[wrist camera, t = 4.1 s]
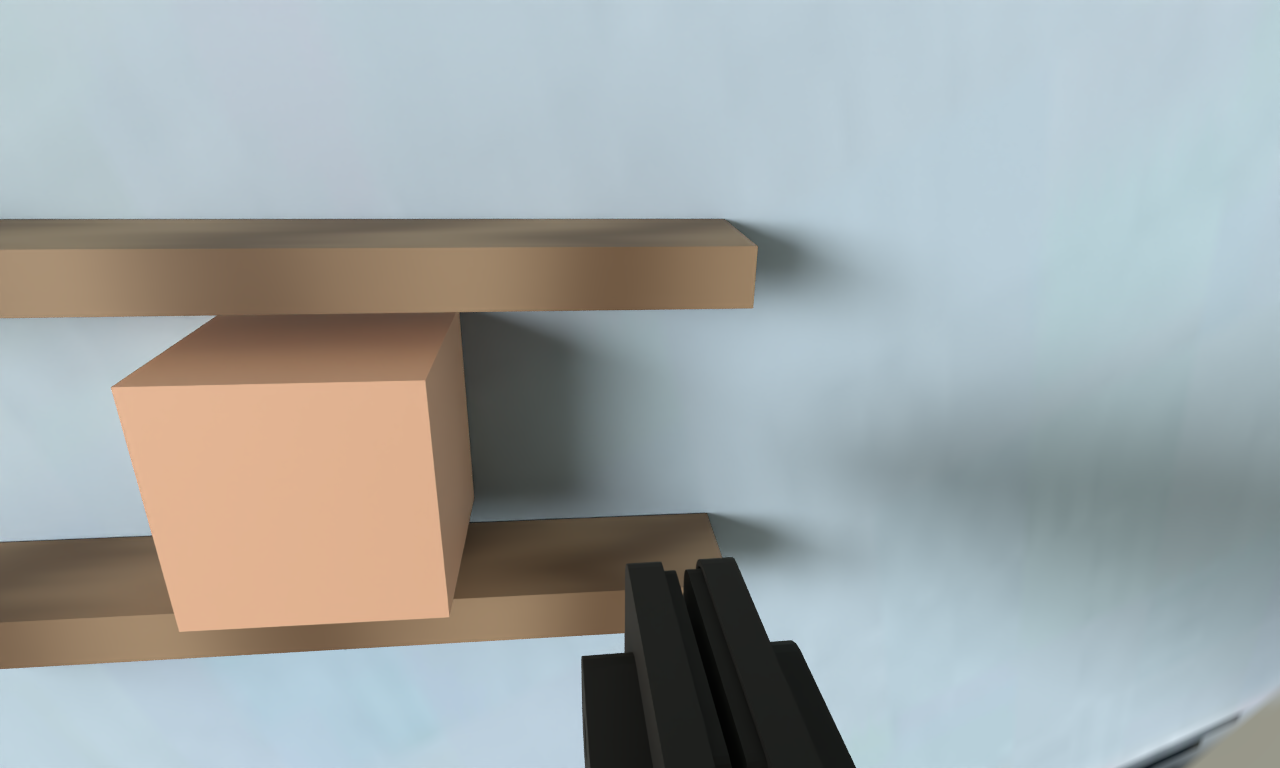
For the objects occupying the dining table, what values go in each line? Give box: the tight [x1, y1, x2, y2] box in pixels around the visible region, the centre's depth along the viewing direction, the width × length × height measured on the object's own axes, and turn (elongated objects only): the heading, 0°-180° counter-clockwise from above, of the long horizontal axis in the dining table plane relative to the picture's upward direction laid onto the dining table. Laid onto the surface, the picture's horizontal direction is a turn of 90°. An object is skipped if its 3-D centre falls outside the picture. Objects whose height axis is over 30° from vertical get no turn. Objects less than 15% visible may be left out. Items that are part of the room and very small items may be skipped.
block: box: [111, 312, 474, 632], centre depth 15 cm, size 5×5×4 cm
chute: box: [0, 219, 758, 669], centre depth 15 cm, size 22×11×5 cm, turn 89°
